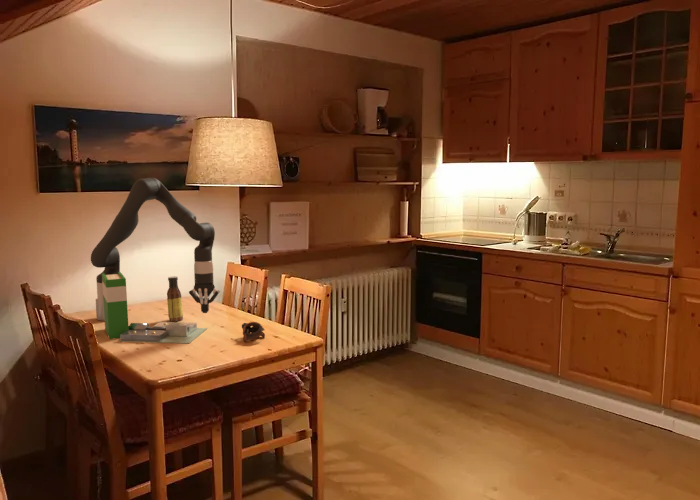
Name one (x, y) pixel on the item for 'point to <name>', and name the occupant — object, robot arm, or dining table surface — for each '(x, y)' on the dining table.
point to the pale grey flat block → (177, 328)
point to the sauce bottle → (174, 300)
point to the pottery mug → (252, 331)
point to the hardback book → (115, 304)
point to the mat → (178, 337)
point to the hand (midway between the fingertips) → (205, 312)
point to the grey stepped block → (143, 333)
